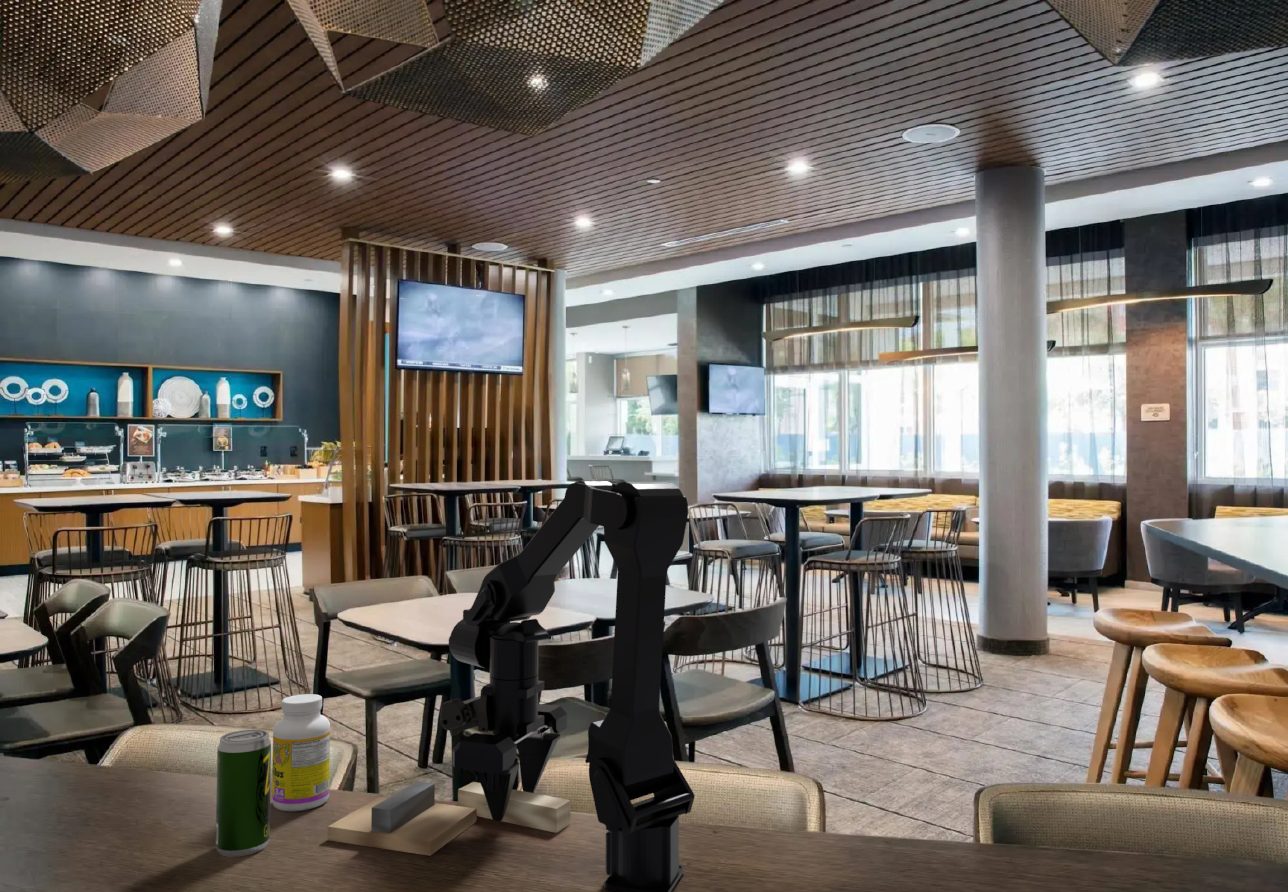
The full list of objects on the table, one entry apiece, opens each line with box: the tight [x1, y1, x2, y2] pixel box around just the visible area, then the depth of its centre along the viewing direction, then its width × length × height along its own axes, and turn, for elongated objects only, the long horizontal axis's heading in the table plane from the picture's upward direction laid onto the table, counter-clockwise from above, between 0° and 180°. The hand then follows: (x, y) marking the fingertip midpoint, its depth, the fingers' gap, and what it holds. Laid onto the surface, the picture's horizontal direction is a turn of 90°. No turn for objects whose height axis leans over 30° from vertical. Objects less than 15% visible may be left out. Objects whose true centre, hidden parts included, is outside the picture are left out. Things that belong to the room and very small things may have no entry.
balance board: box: [327, 780, 478, 856], centre depth 102 cm, size 13×10×4 cm
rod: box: [457, 781, 572, 834], centre depth 106 cm, size 14×3×3 cm, turn 63°
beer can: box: [215, 729, 272, 858], centre depth 98 cm, size 5×5×12 cm
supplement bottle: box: [271, 693, 331, 812], centre depth 111 cm, size 7×7×13 cm
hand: (513, 808), depth 106 cm, fingers open, 8 cm apart
